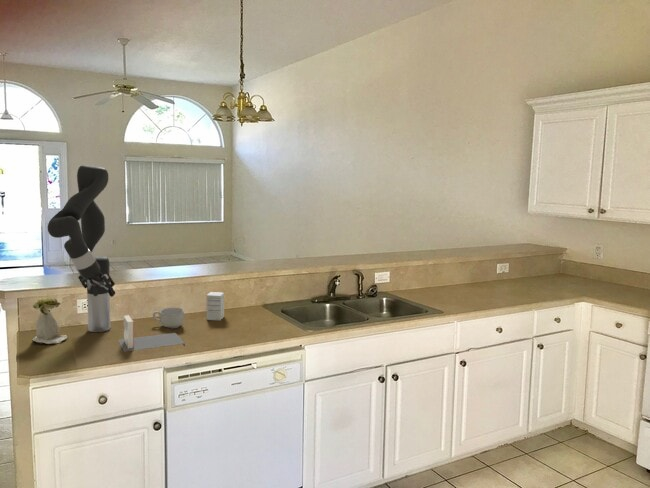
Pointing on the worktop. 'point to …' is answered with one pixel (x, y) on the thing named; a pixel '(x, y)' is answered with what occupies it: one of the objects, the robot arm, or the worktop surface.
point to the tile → (128, 331)
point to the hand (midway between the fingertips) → (105, 295)
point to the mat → (153, 341)
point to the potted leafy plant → (47, 322)
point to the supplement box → (215, 306)
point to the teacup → (170, 317)
